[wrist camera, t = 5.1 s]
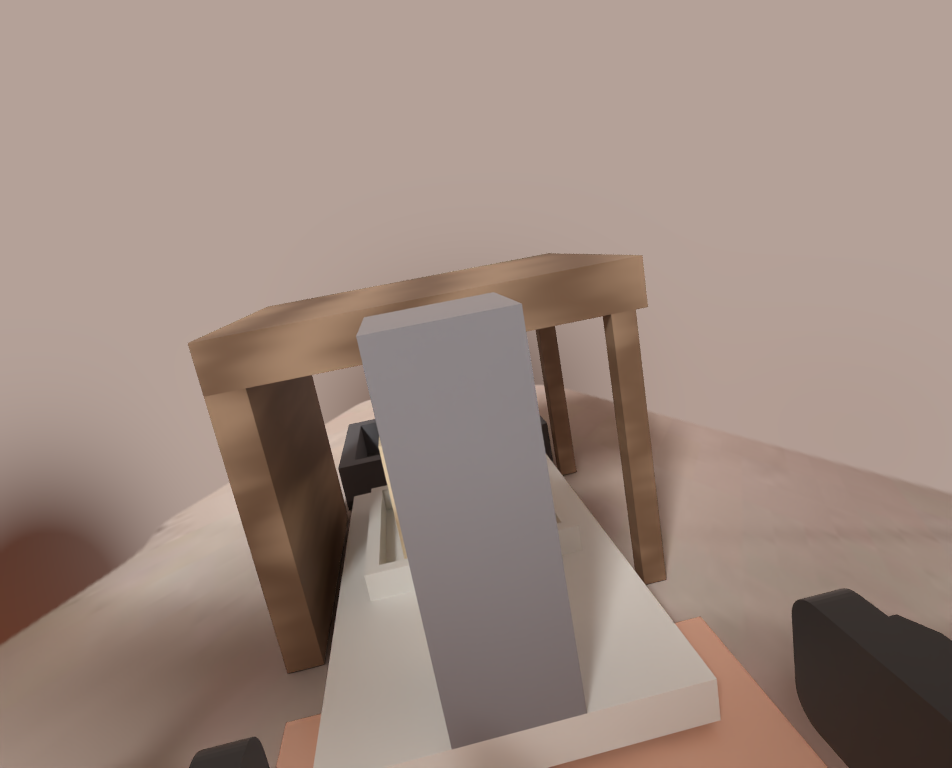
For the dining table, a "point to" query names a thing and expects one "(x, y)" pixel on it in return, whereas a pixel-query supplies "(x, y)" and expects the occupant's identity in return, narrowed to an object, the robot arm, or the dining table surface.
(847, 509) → the dining table surface
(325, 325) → the small wooden table
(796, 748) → the pad
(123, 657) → the dining table surface
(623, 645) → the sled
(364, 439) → the pit trap
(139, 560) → the dining table surface
